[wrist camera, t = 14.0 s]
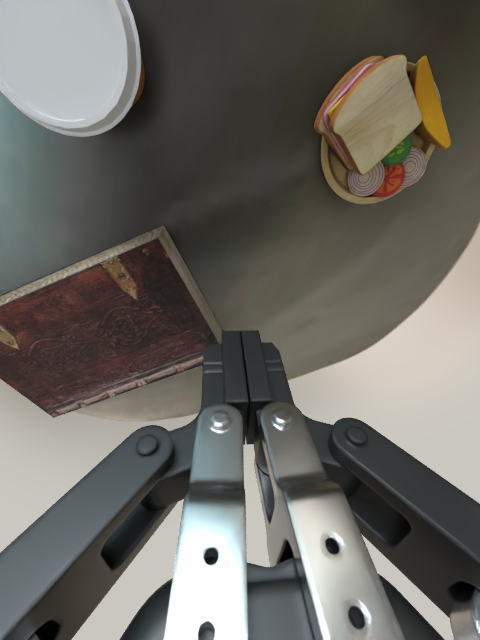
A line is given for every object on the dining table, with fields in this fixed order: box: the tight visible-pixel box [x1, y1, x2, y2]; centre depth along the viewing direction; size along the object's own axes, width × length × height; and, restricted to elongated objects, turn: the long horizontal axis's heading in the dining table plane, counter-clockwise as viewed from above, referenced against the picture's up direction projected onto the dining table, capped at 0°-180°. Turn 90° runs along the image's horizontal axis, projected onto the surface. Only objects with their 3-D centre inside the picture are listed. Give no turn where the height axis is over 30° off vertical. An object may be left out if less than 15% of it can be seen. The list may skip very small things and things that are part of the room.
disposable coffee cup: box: [0, 0, 145, 137], centre depth 21 cm, size 10×10×12 cm
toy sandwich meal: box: [314, 55, 451, 204], centre depth 29 cm, size 12×14×5 cm
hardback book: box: [0, 225, 222, 417], centre depth 39 cm, size 29×19×5 cm, turn 111°
